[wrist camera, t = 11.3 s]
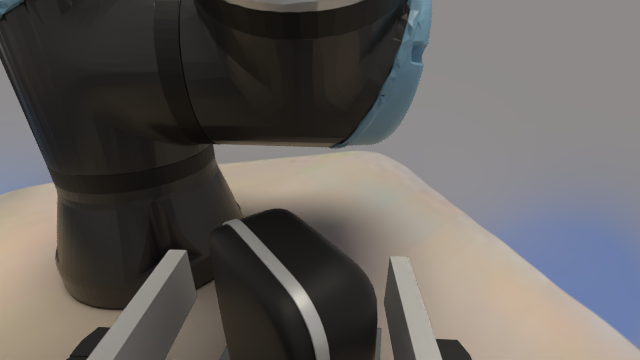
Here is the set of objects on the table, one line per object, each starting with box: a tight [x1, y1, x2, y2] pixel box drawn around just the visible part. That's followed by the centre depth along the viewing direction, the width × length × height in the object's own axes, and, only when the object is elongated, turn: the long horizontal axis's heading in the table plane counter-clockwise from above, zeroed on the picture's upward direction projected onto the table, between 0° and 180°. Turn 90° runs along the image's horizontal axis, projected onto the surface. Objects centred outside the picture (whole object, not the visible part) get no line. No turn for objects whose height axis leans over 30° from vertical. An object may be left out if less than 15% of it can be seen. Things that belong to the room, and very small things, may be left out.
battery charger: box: [209, 209, 378, 360], centre depth 13 cm, size 7×4×11 cm, turn 37°
